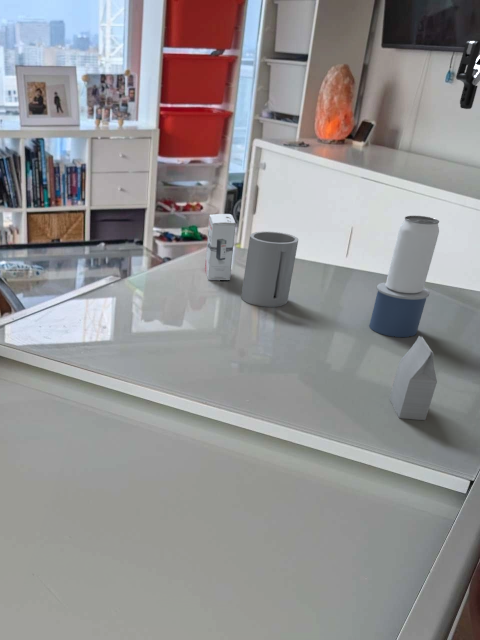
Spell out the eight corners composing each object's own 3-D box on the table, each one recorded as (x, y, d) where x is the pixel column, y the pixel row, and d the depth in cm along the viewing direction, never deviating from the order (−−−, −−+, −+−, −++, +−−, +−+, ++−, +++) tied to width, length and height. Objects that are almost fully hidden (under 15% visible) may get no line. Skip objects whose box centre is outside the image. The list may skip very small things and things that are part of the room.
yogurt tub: (397, 318, 145) (407, 280, 141) (429, 335, 138) (440, 295, 134) (357, 322, 142) (366, 283, 138) (388, 340, 135) (398, 299, 131)
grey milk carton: (398, 418, 109) (417, 352, 103) (389, 398, 114) (406, 334, 109) (425, 420, 109) (445, 354, 103) (414, 400, 114) (433, 336, 109)
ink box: (203, 268, 168) (209, 212, 162) (225, 269, 168) (233, 213, 162) (206, 280, 161) (213, 222, 154) (230, 281, 161) (238, 223, 154)
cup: (259, 289, 157) (269, 229, 151) (296, 300, 152) (307, 239, 145) (232, 297, 152) (240, 235, 145) (268, 309, 147) (279, 246, 140)
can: (379, 283, 138) (395, 214, 132) (412, 283, 139) (430, 215, 132) (394, 294, 133) (412, 223, 126) (429, 294, 134) (449, 224, 127)
